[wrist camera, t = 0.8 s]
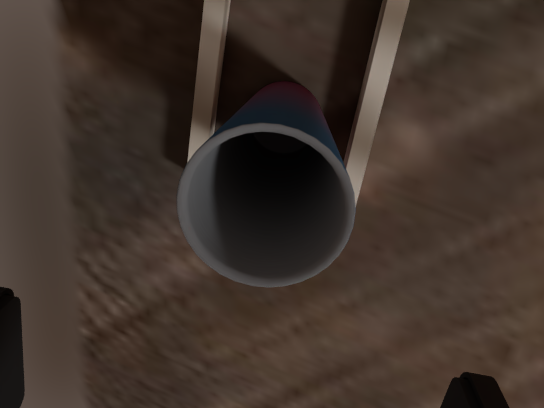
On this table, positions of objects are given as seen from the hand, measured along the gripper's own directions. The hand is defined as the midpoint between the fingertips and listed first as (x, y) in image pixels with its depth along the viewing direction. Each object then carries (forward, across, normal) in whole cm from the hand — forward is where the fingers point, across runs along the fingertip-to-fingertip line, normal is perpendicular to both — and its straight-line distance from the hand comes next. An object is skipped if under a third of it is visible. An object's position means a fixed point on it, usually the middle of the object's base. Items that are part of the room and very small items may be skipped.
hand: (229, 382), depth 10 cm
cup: (+24, 0, 0) cm, 24 cm away
